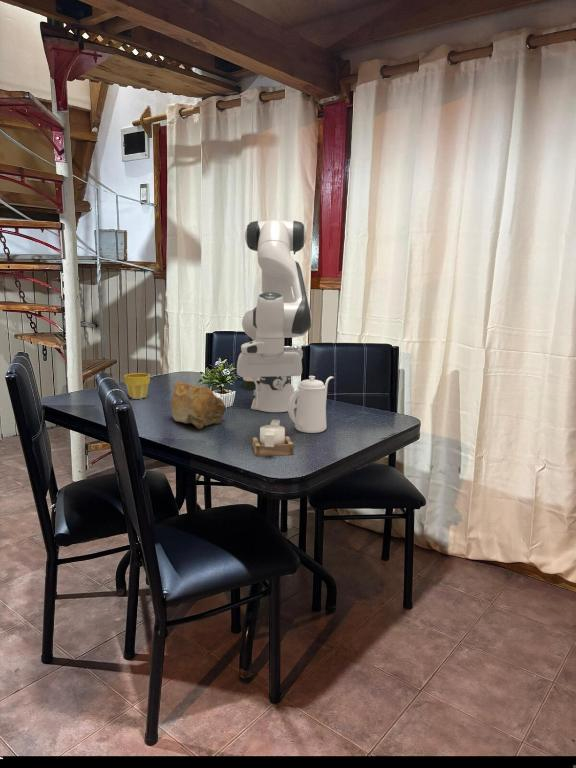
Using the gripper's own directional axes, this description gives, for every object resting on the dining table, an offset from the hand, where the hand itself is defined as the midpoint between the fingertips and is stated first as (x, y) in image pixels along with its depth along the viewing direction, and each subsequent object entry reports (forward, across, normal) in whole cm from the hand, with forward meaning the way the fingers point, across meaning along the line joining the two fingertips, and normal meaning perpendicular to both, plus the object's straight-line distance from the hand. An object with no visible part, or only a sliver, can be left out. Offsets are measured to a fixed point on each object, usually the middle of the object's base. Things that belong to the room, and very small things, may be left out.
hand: (269, 390), depth 179 cm
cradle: (+17, 0, +7) cm, 18 cm away
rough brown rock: (+17, +20, -25) cm, 37 cm away
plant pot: (+17, +45, -67) cm, 83 cm away
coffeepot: (+17, -17, -14) cm, 28 cm away
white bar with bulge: (+17, 0, +6) cm, 18 cm away
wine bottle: (+17, -4, -81) cm, 83 cm away
